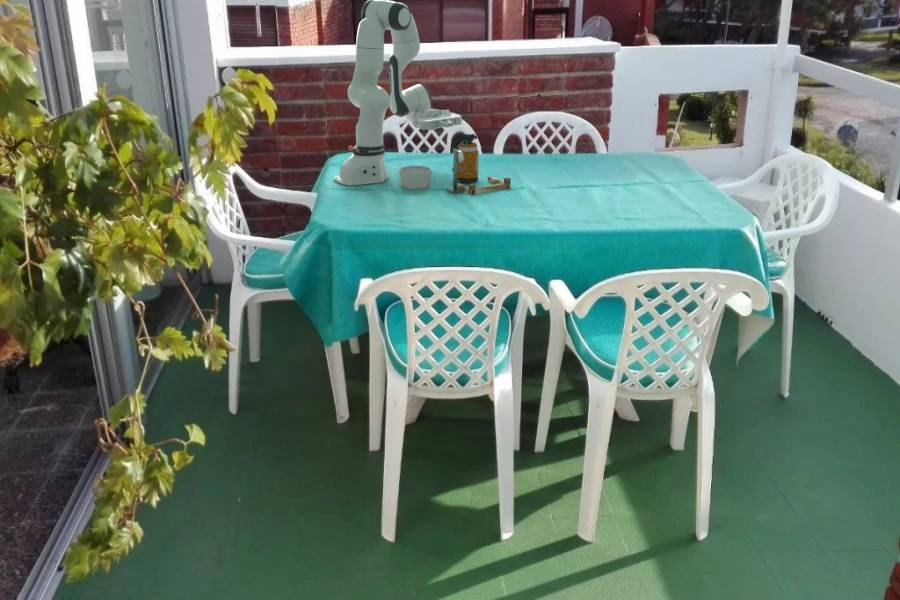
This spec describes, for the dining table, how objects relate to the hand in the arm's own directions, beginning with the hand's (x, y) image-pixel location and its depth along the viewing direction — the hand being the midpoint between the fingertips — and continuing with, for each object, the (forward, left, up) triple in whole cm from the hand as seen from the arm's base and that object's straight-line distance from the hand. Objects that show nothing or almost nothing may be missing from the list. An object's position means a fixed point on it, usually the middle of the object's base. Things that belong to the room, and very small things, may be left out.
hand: (449, 125), depth 350 cm
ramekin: (-21, -7, -22) cm, 31 cm away
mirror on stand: (-13, -23, -21) cm, 34 cm away
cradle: (0, -23, -21) cm, 32 cm away
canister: (0, -12, -22) cm, 25 cm away
